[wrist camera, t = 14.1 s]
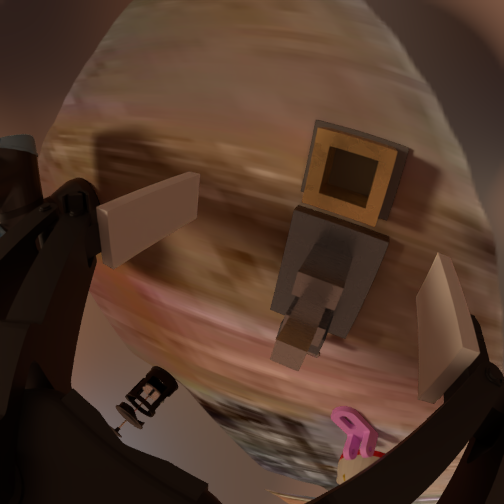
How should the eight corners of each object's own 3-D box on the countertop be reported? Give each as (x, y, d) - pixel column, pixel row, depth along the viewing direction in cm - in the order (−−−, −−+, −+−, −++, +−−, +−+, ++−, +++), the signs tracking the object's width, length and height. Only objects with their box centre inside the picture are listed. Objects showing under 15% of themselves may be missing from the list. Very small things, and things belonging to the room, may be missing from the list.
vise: (271, 315, 45) (222, 388, 32) (298, 205, 36) (240, 261, 23) (340, 343, 42) (311, 427, 29) (389, 236, 32) (385, 316, 19)
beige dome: (367, 444, 51) (351, 499, 39) (401, 461, 49) (389, 511, 37) (330, 456, 59) (311, 503, 47) (363, 472, 57) (349, 516, 45)
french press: (171, 370, 69) (116, 429, 50) (185, 393, 72) (136, 450, 53) (143, 362, 75) (91, 412, 56) (157, 384, 78) (110, 434, 59)
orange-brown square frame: (313, 191, 33) (301, 202, 29) (327, 127, 29) (317, 127, 25) (376, 212, 31) (374, 226, 27) (395, 147, 27) (397, 151, 23)
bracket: (378, 433, 48) (372, 459, 42) (357, 437, 51) (349, 462, 45) (350, 403, 47) (341, 432, 41) (327, 408, 50) (317, 436, 45)
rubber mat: (302, 190, 35) (300, 191, 34) (316, 119, 30) (315, 119, 30) (386, 219, 31) (386, 220, 31) (408, 147, 27) (409, 148, 26)
